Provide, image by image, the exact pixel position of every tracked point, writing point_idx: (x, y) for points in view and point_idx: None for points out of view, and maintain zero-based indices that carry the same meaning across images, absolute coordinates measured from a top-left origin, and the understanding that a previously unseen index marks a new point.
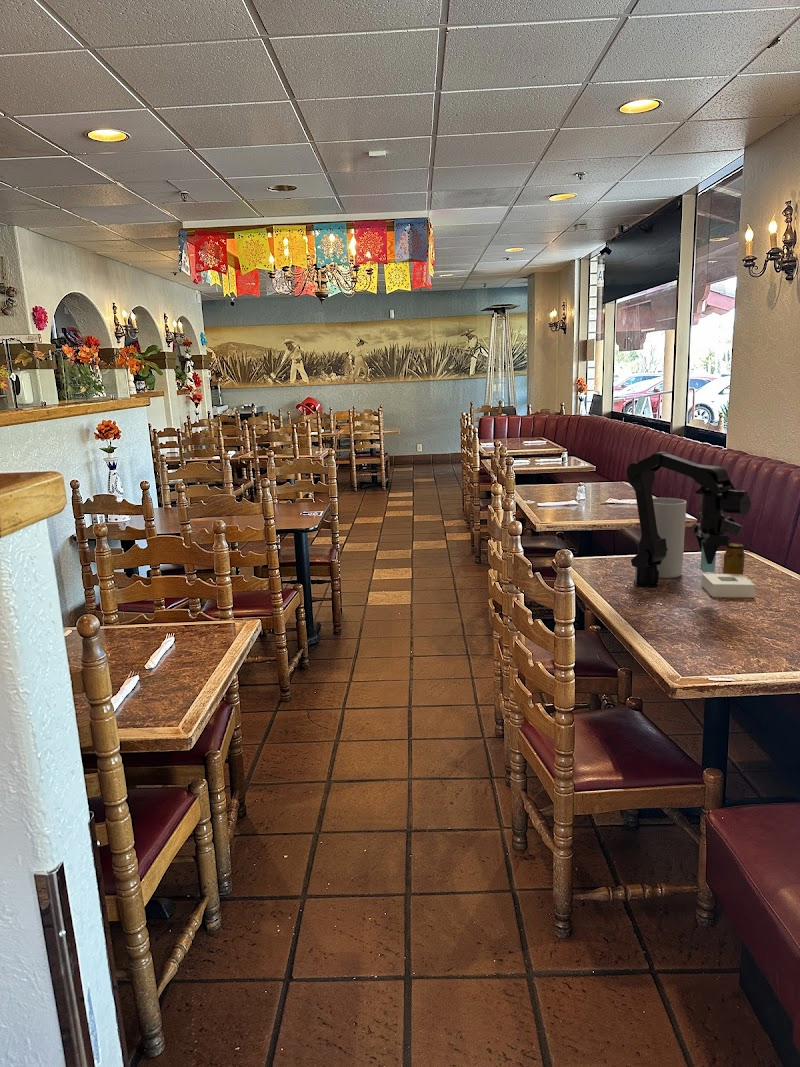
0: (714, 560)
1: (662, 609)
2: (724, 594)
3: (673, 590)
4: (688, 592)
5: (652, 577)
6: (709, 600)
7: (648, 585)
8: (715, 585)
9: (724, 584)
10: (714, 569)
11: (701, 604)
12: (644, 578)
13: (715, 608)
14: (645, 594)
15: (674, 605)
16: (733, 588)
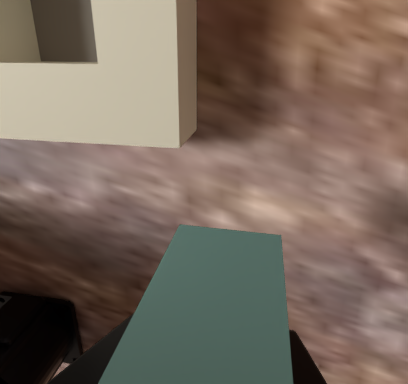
0: (287, 331)
1: (375, 379)
2: (194, 64)
3: (108, 261)
4: (129, 213)
5: (44, 344)
6: (256, 163)
7: (75, 333)
8: (181, 131)
9: (177, 71)
10: (280, 251)
11: (322, 221)
12: (56, 366)
13: (400, 180)
14: None
15: (325, 326)
16: (184, 2)
